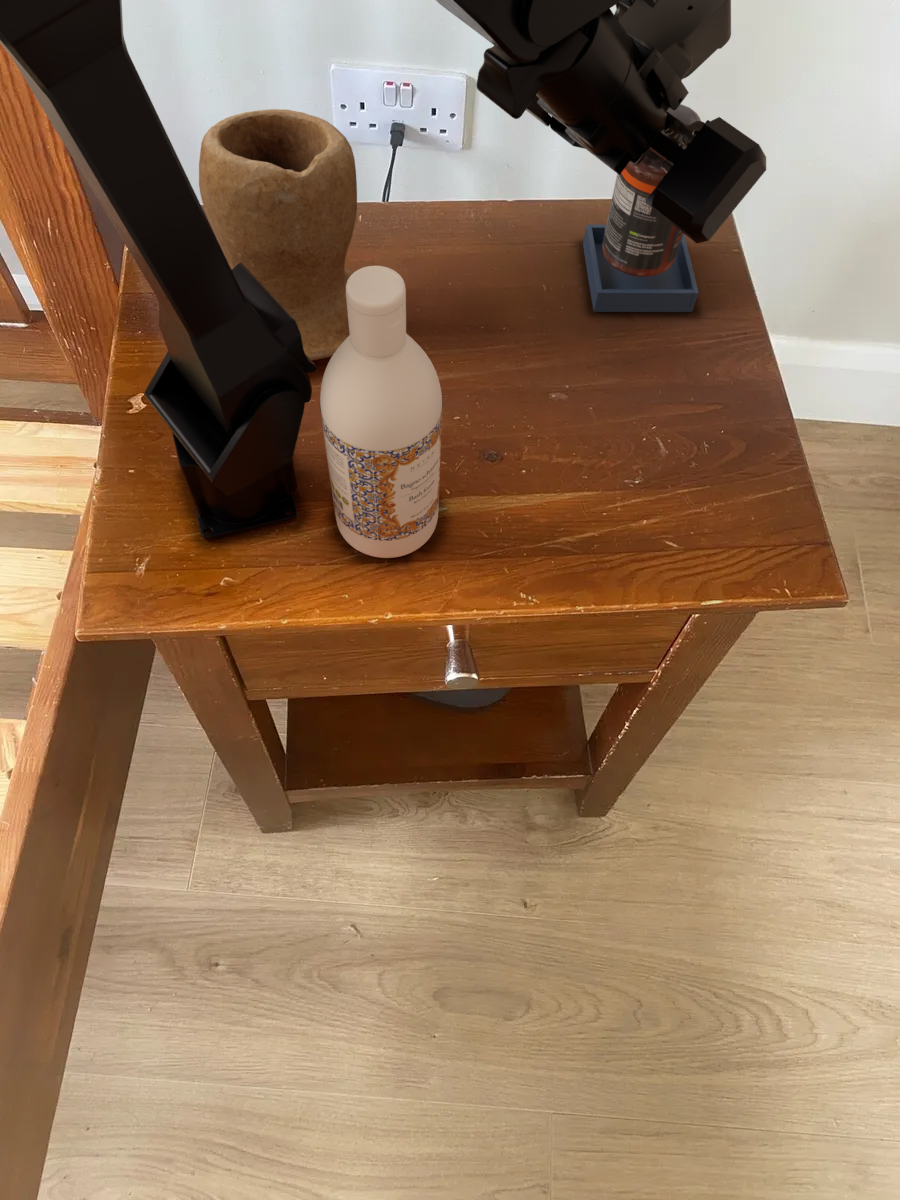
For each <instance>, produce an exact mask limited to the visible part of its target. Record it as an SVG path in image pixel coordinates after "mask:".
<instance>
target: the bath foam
mask: <svg viewBox="0 0 900 1200" xmlns="http://www.w3.org/2000/svg"><path fill="white" fill-rule="evenodd" d="M406 292H407V291H406V283H405V280H404V279H403V277H402V276H401V275H400V273H398V272H397V271H396V270H394V269H392V268H390V267H387V266H383V265H368V266H364V267H360V268H359V269H357V270H355V271H354V273H353V274H352V275H351V276H350V277H349V279H348V281H347V284H346V300H347V311H348V322H349V332H350V335H349V336H348V337H347V338H346V339H345V340H344V342H343V343H342V344H341V345H340V346H339V347H338V349H337V350H336V351H335V353H334V354H333V356H332V357H330V359H329V361H328V363H327V365H326V368H325V370H324V373H323V376H322V381H321V387H320V396H319V411H320V418H321V424H322V432H323V439H324V446H325V453H326V460H327V467H328V468H327V469H328V475H329V480H330V481H329V482H330V489H331V495H332V496H331V497H332V502H333V508H334V515H335V516H334V517H335V520H336V525H337V528H338V531H339V533H340V535H341V537H343V539H344V540H345V541H346V543H347V544H348V545H350V546H351V547H352V548H354V549H355V550H356V551H358V552H360V553H362V554H364V555H367V556H369V557H370V556H371V557H374V558H381V559H392V558H393V559H394V558H398V557H403V556H406V555H409V554H411V553H413V552H415V551H417V550H419V549H420V548H421V547H422V546H424V545H425V544H426V543H427V542H428V541H429V540H430V538H431V537H432V536H433V533H434V532H435V530H436V527H437V524H438V519H439V505H440V487H441V486H440V485H441V483H440V482H441V463H442V461H441V459H442V454H441V453H442V435H443V432H442V431H443V408H444V407H443V405H444V403H443V396H442V394H443V393H442V389H441V388H442V387H441V384H440V380H439V377H438V376H439V375H438V373H437V371H436V368H435V367H434V364H433V363H432V361H431V359H430V357H429V356H428V355H427V353H426V352H425V351H424V349H423V348H422V347H421V346H420V345H419V344H418V343H417V342H416V341H415V340H414V339H413V338H412V337H411V336H410V335H409V334H408V333H407V295H406V294H407V293H406Z"/></svg>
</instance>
